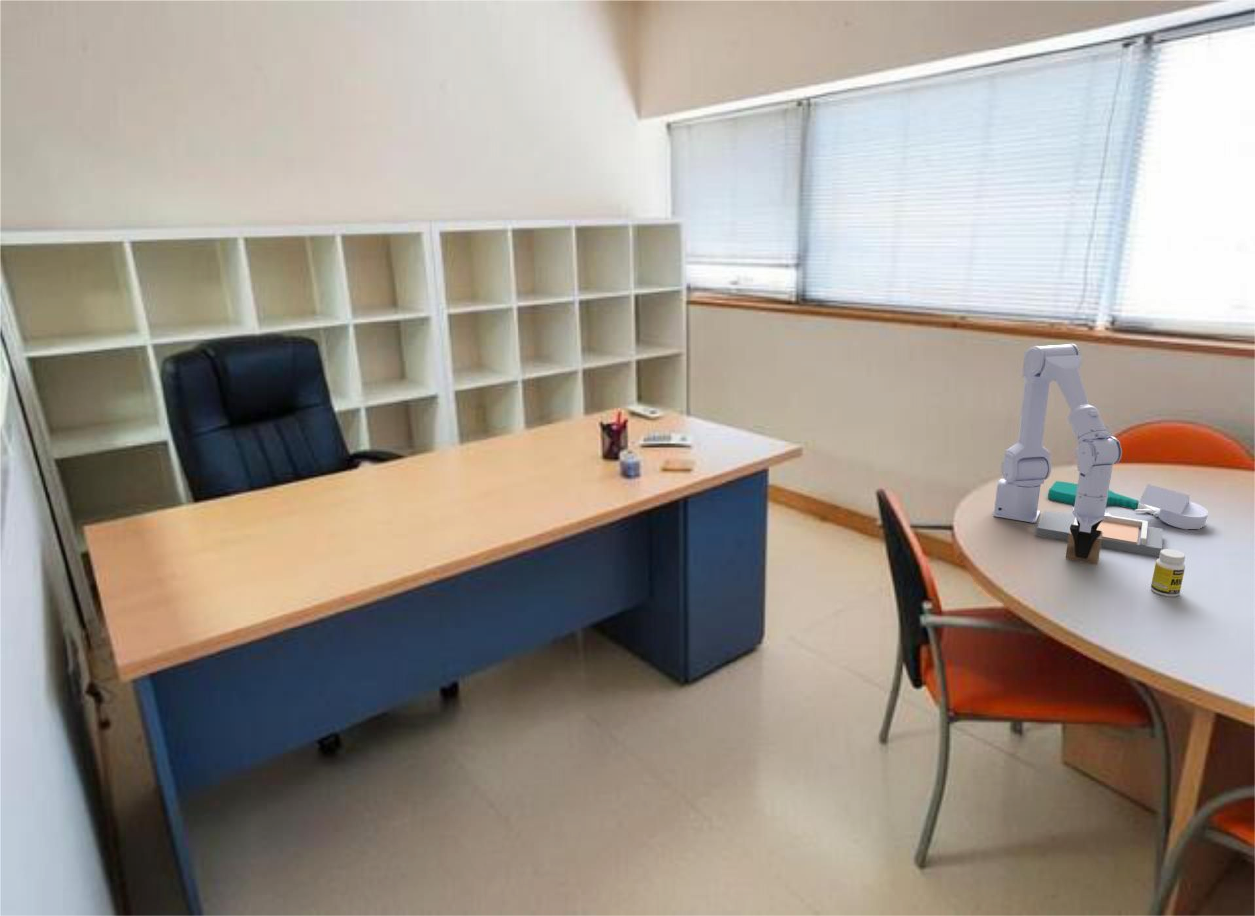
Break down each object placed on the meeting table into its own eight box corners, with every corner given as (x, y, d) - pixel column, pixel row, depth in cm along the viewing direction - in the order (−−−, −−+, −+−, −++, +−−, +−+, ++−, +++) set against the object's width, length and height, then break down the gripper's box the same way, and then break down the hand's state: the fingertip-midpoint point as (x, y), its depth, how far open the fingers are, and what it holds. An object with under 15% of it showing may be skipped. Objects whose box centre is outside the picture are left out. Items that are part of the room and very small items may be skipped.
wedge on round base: (1134, 514, 180) (1199, 533, 172) (1142, 490, 177) (1208, 508, 169) (1144, 502, 186) (1207, 519, 178) (1152, 478, 183) (1216, 494, 175)
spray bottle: (1054, 489, 203) (1163, 508, 188) (1044, 501, 195) (1157, 523, 180) (1055, 478, 202) (1165, 498, 187) (1046, 491, 194) (1160, 512, 179)
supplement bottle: (1170, 599, 145) (1178, 560, 142) (1145, 589, 149) (1152, 551, 146) (1184, 593, 147) (1192, 554, 144) (1159, 583, 151) (1166, 545, 148)
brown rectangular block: (1065, 558, 163) (1069, 533, 162) (1067, 551, 166) (1071, 527, 165) (1097, 564, 160) (1101, 539, 158) (1098, 557, 163) (1102, 532, 161)
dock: (1036, 535, 175) (1037, 521, 174) (1043, 517, 184) (1044, 504, 183) (1160, 557, 162) (1163, 542, 161) (1161, 536, 171) (1163, 522, 170)
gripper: (1112, 507, 151) (1102, 567, 155) (1116, 484, 162) (1107, 541, 166) (1072, 501, 155) (1063, 560, 159) (1079, 479, 166) (1070, 535, 170)
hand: (1083, 550), depth 163 cm, fingers open, 7 cm apart
